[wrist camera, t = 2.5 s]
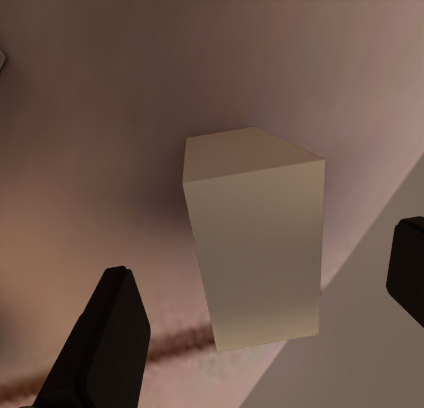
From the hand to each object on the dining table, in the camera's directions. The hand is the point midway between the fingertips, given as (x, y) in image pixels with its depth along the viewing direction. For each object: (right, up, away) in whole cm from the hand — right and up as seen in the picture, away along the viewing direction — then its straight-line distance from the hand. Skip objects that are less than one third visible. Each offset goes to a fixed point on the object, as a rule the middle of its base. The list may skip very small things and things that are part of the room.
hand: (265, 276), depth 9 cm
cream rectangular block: (-1, +4, +7) cm, 8 cm away
